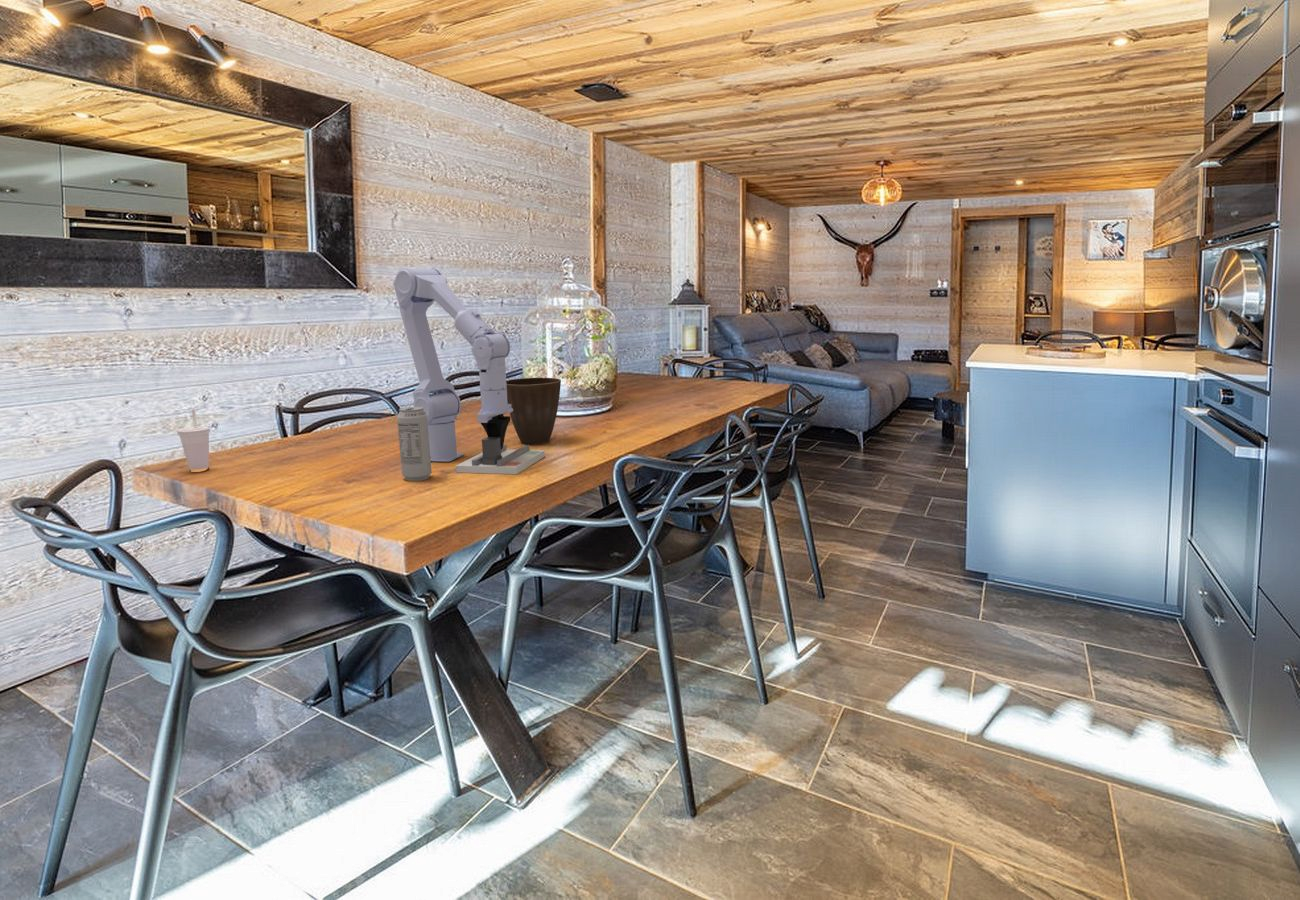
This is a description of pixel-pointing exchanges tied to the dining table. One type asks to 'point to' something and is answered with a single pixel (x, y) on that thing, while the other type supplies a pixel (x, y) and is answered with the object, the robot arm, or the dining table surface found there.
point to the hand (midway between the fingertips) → (497, 449)
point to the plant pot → (533, 407)
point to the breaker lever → (491, 450)
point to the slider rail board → (503, 462)
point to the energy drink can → (414, 443)
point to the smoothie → (195, 445)
